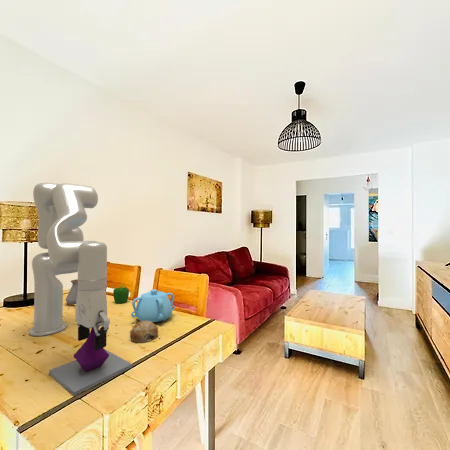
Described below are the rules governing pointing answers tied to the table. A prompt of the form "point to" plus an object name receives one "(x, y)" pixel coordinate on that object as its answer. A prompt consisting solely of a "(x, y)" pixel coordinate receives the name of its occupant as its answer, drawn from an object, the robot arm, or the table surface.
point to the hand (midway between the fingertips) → (91, 343)
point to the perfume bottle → (90, 354)
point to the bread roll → (143, 332)
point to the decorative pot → (153, 306)
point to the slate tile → (88, 373)
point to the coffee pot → (72, 293)
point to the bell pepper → (121, 294)
